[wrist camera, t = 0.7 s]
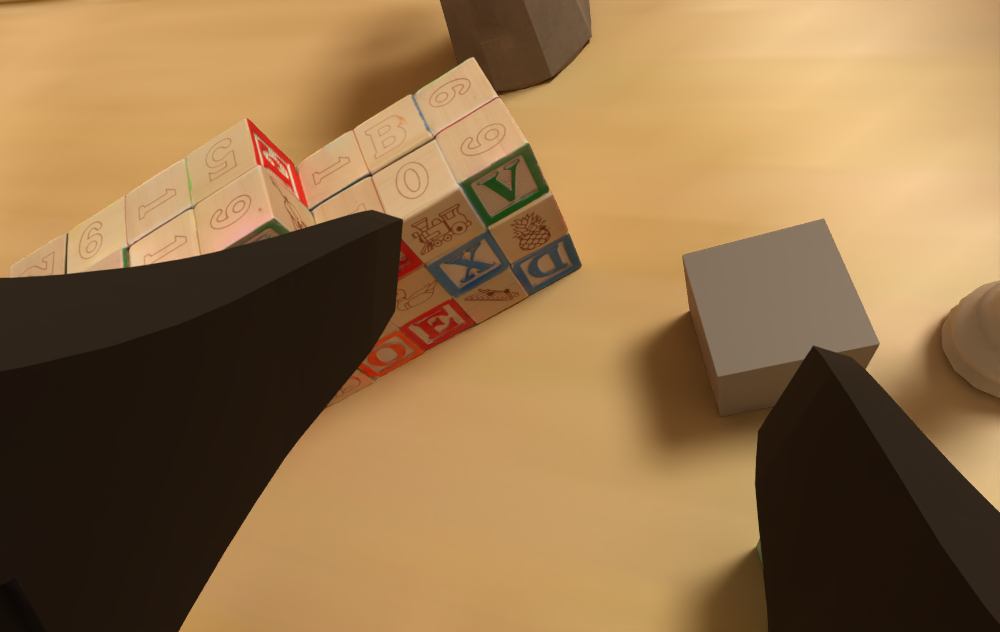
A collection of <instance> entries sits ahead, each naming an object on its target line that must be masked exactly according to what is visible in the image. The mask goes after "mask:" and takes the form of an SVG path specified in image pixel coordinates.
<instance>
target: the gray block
mask: <svg viewBox="0 0 1000 632" xmlns="http://www.w3.org/2000/svg"><path fill="white" fill-rule="evenodd" d="M682 257H683V265H684V272H685V280H686V287H687V294H688V302H689V309H690V314H691V317H692V321H693V324H694V328H695V331H696V335H697V338H698V342H699V345H700V349H701V352H702V356H703V359H704V363H705V367H706V370H707V374H708V377H709V381H710V384H711V388H712V391H713V395H714V398H715V402H716V405H717V409H718V412H719V416H720V417H722V416H728V415H733V414H739V413H744V412H749V411H755V410H760V409H765V408H771V407H774V406H775V404H776V403H777V401H778V400H779V398H780V396H781V395H782V393H783V392H784V390H785V389H786V387H787V385H788V384H789V382H790V381H791V379H792V378H793V376H794V374H795V373H796V371H797V370H798V368H799V367H800V365H801V363H802V362H803V360H804V359H805V357H806V356H807V354H808V353H809V351H810V349H811V348H812V346H817V347H820V348H823V349H826V350H830V351H833V352H836V353H839V354H843V355H846V356H849V357H852V358H853V359H854V360H855V361H857V362H858V363H859V364H860V365H861V366H862V367H863V368H864V369H866V368H867V366H868V364H869V362H870V360H871V359H872V357H873V355H874V353H875V352H876V350H877V348H878V346H879V344H880V343H879V341H878V339H877V336H876V334H875V332H874V330H873V327H872V325H871V323H870V321H869V318H868V316H867V314H866V312H865V309H864V307H863V305H862V303H861V300H860V298H859V296H858V294H857V291H856V289H855V287H854V285H853V282H852V280H851V278H850V276H849V273H848V271H847V269H846V267H845V264H844V262H843V260H842V258H841V255H840V253H839V251H838V249H837V247H836V244H835V242H834V240H833V238H832V235H831V233H830V231H829V229H828V226H827V224H826V222H825V220H824V219H820V220H816V221H813V222H809V223H805V224H801V225H797V226H793V227H789V228H785V229H781V230H778V231H774V232H770V233H766V234H762V235H758V236H754V237H750V238H746V239H743V240H739V241H735V242H731V243H727V244H723V245H719V246H715V247H712V248H708V249H704V250H700V251H696V252H692V253H688V254H684V255H682Z"/></svg>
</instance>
